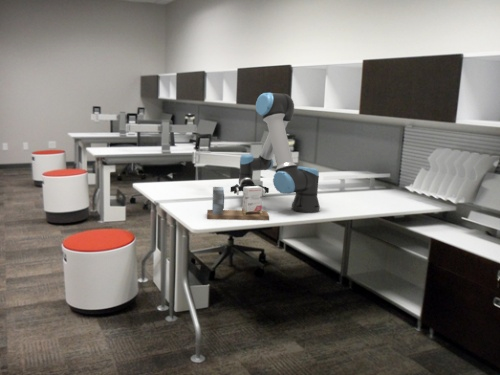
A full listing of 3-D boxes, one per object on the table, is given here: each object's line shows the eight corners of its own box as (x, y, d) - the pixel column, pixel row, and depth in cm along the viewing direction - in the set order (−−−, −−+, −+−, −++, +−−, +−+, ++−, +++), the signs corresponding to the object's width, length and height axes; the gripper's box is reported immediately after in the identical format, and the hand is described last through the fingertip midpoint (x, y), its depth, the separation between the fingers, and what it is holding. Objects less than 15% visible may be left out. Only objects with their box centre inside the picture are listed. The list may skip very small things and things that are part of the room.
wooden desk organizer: (266, 214, 242) (267, 187, 240) (269, 220, 232) (270, 191, 229) (207, 213, 240) (208, 186, 237) (207, 218, 229) (207, 190, 226)
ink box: (257, 208, 240) (258, 185, 238) (261, 210, 236) (263, 187, 234) (241, 209, 236) (242, 186, 234) (246, 211, 232) (247, 188, 230)
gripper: (269, 192, 265) (275, 200, 245) (224, 191, 263) (226, 199, 242) (269, 179, 264) (275, 186, 243) (225, 178, 261) (227, 184, 241)
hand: (251, 192), depth 243 cm, fingers open, 13 cm apart
